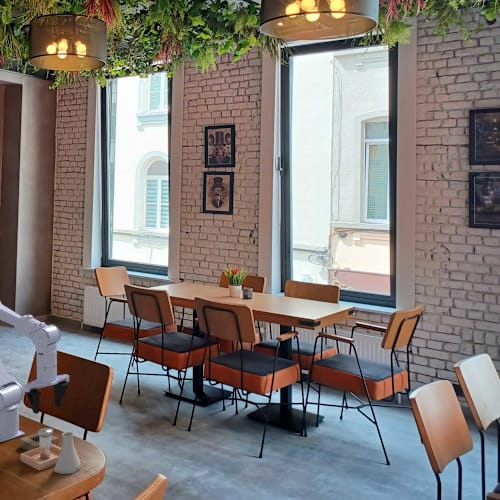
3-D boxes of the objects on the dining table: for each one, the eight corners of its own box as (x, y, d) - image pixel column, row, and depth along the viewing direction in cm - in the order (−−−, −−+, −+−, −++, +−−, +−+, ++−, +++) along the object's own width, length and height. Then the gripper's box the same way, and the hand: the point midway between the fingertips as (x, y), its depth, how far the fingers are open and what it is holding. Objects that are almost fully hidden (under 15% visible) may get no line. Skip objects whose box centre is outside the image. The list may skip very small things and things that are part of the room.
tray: (20, 460, 161) (20, 453, 161) (50, 449, 169) (50, 443, 169) (40, 470, 155) (40, 463, 155) (70, 459, 163) (70, 452, 163)
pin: (34, 457, 162) (34, 430, 162) (47, 452, 166) (47, 426, 165) (43, 461, 160) (42, 434, 159) (56, 456, 163) (56, 430, 162)
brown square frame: (19, 447, 170) (19, 438, 170) (43, 438, 177) (43, 431, 177) (34, 454, 166) (34, 446, 165) (58, 445, 172) (58, 437, 172)
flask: (73, 476, 153) (73, 440, 152) (48, 473, 154) (48, 437, 154) (85, 464, 160) (86, 430, 159) (62, 461, 161) (62, 427, 161)
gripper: (32, 373, 164) (32, 419, 165) (75, 363, 176) (75, 406, 177) (19, 368, 169) (19, 413, 169) (61, 359, 180) (61, 401, 181)
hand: (47, 409), depth 173 cm, fingers open, 7 cm apart
